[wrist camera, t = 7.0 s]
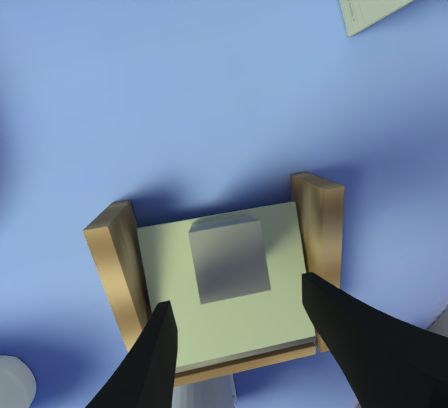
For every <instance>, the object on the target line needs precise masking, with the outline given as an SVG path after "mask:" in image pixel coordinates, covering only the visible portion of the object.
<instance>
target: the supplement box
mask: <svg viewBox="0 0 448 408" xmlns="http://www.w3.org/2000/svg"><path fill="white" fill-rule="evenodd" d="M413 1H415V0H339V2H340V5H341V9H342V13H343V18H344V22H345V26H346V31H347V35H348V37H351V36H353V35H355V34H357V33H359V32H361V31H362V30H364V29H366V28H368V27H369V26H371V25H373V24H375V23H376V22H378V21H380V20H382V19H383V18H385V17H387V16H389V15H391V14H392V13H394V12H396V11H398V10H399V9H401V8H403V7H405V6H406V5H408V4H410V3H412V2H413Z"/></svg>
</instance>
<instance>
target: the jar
mask: <svg viewBox="0 0 448 408" xmlns="http://www.w3.org/2000/svg"><path fill="white" fill-rule="evenodd" d="M35 394H36V381H35V378H34V375H33V373H32V372H31V370H30V369H29V368H28V367H27V365H26V364H24V363H23V362H22V361H21V360H20V359H18V358H17V357H14V356H7V355H0V408H29V407H30V405H31V403H32V401H33V399H34V397H35Z"/></svg>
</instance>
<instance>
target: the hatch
mask: <svg viewBox="0 0 448 408" xmlns="http://www.w3.org/2000/svg"><path fill="white" fill-rule="evenodd" d="M244 214H246V215H248V216H251V217H253V218H256V219H258V220H260V223H261V229H262V236H263V242H264V248H265V255H266V261H267V267H268V273H269V280H270V286H271V290H269V291H264V292H260V293H255V294H250V295H245V296H240V297H235V298H230V299H226V300H221V301H216V302H211V303H206V304H200V298H199V292H198V287H197V281H196V275H195V269H194V263H193V258H192V252H191V246H190V240H189V235H188V232H189V230H190V228H191V225H192V223H198V222H204V221H209V220H215V219H221V218H227V217H232V216H238V215H244ZM137 234H138V240H139V245H140V251H141V256H142V262H143V267H144V273H145V278H146V284H147V289H148V295H149V300H150V306H151V311H152V313H153V311H154V309H155V307H156V305H157V304H158V303H159V302H164V301H169V300H170V302H171V306H172V310H173V314H174V318H175V321H176V325H177V329H178V352H177V362H176V371H175V373H179V372H183V371H188V370H192V369H196V368H201V367H205V366H209V365H214V364H218V363H222V362H227V361H231V360H236V359H240V358H244V357H249V356H253V355H257V354H262V353H266V352H271V351H275V350H279V349H284V348H288V347H292V346H297V345H301V344H306V343H310V342H314V341H316V336H315V329H314V326H313V324H312V322H311V321H310V319H309V317H308V315H307V313H306V311H305V309H304V306H303V304H302V274H303V273H306V269H305V263H304V256H303V250H302V243H301V236H300V230H299V223H298V216H297V210H296V203H295V202H292V201H291V202H286V203H280V204H274V205H268V206H262V207H256V208H251V209H245V210H239V211H233V212H227V213H222V214H216V215H210V216H204V217H198V218H192V219H187V220H181V221H175V222H169V223H163V224H157V225H152V226H146V227H140V228H137Z"/></svg>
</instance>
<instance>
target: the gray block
mask: <svg viewBox="0 0 448 408" xmlns="http://www.w3.org/2000/svg"><path fill="white" fill-rule="evenodd" d="M188 235H189V240H190V246H191V252H192V258H193V263H194V269H195V275H196V281H197V287H198V292H199V298H200V304H206V303H211V302H216V301H221V300H226V299H230V298H235V297H240V296H245V295H250V294H255V293H260V292H264V291H269V290H271V286H270V280H269V273H268V267H267V261H266V255H265V248H264V242H263V236H262V229H261V223H260V220H258V219H256V218H253V217H251V216H248V215H246V214H244V215H238V216H232V217H227V218H221V219H215V220H209V221H204V222H198V223H192V225H191V228H190V230H189V232H188Z"/></svg>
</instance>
